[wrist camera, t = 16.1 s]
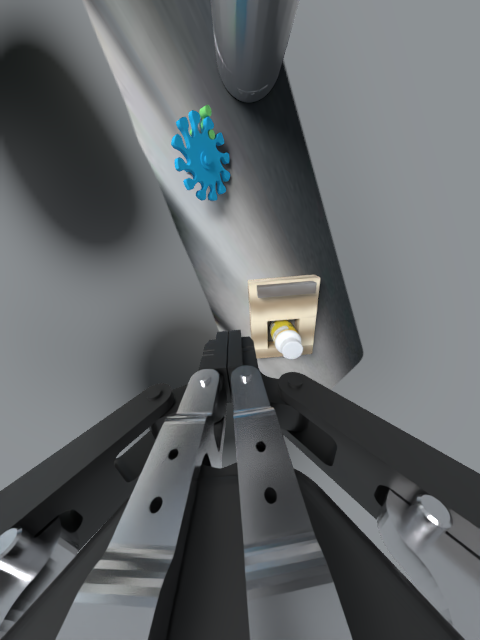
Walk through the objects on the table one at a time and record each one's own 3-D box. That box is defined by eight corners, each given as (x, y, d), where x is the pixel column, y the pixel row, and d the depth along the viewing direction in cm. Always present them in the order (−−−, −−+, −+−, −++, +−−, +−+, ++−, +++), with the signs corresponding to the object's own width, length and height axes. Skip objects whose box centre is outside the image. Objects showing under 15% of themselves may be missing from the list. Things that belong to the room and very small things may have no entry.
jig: (247, 280, 38) (249, 285, 33) (314, 274, 38) (325, 279, 33) (251, 351, 45) (253, 364, 41) (307, 346, 45) (315, 359, 41)
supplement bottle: (294, 332, 43) (310, 356, 34) (273, 340, 44) (283, 366, 35) (287, 313, 41) (302, 334, 32) (265, 322, 42) (273, 345, 33)
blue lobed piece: (227, 210, 31) (174, 182, 24) (206, 212, 35) (154, 188, 27) (238, 132, 28) (181, 72, 21) (214, 143, 32) (158, 95, 24)
